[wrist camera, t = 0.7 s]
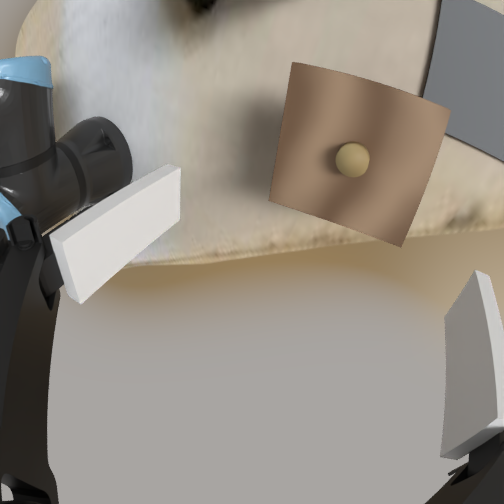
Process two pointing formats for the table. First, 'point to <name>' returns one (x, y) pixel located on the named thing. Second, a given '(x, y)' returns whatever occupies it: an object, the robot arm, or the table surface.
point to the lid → (355, 151)
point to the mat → (470, 73)
